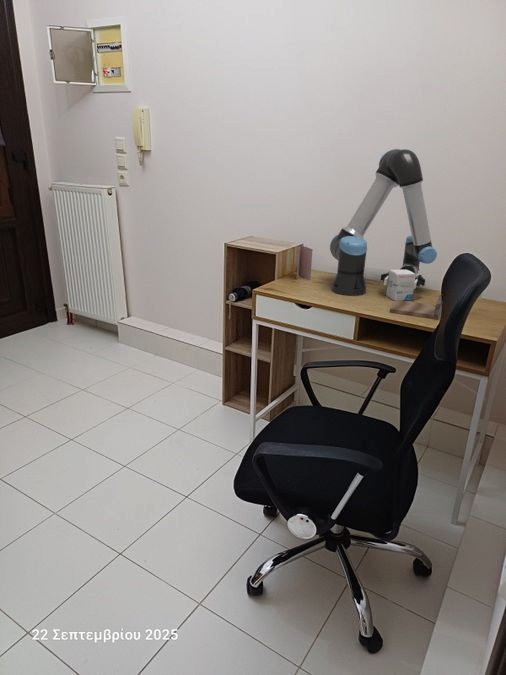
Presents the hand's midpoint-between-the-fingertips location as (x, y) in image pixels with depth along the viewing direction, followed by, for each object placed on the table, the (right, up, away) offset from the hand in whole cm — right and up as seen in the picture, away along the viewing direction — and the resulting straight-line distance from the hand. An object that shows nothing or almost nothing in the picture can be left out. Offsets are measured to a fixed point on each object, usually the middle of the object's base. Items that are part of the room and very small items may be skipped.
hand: (399, 284), depth 204 cm
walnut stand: (+3, -12, -11) cm, 17 cm away
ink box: (+1, -6, +6) cm, 8 cm away
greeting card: (-37, +7, +35) cm, 51 cm away
